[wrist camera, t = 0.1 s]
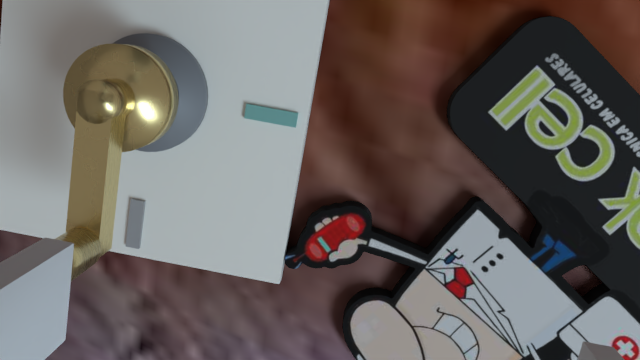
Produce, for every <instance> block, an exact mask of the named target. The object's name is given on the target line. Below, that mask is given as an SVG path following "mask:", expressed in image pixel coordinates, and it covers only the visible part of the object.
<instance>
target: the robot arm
mask: <svg viewBox="0 0 640 360" xmlns="http://www.w3.org/2000/svg"><path fill="white" fill-rule="evenodd" d="M73 250H74V243H72V242H66V241H61V240H56V239H51V238H46V237H45V238H44V239H42V240H40V241H38V242H36V243H35V244H33V245H31V246H29V247H28V248H26V249H24V250H22V251H20V252H19V253H17V254H15V255H13V256H11V257H10V258H8V259H6V260H4V261H2V262H1V263H0V360H45V359H46V358H47V357H48V356H49V355H50V354H51V353H52V352H53V351H54V350H55V349H56V348H57V347H58V346H60V345H61V344H62V343H63V342H64V341H65V338H66V327H67V316H68V305H69V294H70V283H71V272H72V261H73ZM578 360H624V358H623V357H622V356H621V355H620V354H619V353H618V352H617V350H616V349H615V348H614V347H610V346H605V345H600V344H595V343H590V342H584V341H583V343H582V346H581V350H580V353H579V357H578Z"/></svg>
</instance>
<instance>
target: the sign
mask: <svg viewBox="0 0 640 360" xmlns="http://www.w3.org/2000/svg"><path fill="white" fill-rule="evenodd" d="M447 118H448V123H449V125H450V127H451V129H452V130H453V131H454V133H455V134H456V135H457V136H458V137H459V138H460V139H461V140H462V141H463V142H464V143H465V144H466V145H467V146H468V147H469V148H470V149H471V150H472V151H473V152H474V153H475V154H476V155H477V156H478V157H479V158H480V159H481V160H482V161H483V162H484V163H485V164H486V165H487V166H488V167H489V168H490V169H491V170H492V171H493V172H494V173H495V174H496V175H497V176H498V177H499V178H500V179H501V180H502V181H503V182H504V183H505V184H506V185H507V186H508V187H509V188H510V190H511V191H512V192H513V193H514V194H515V195H516V196H517V197H519V198H520V199H521V200H522V201H523V203H524V204H525V206H526V207H527V208H528V210H529V211H530V212H531V213H532V215H533V216H534V218H535V219H536V221H537V223H536V225H535V227H534V229H533V231H532V233H531V236H530V241H529V242H526V241H525V240H524V239H523V238H522V237H521V236H520V235H519V234H518V233H517V232H516V231H515V230H514V229H513V228H511V227H509V225H508V224H507V223H506V222H505V221H504V220H503V219H502V218H501V217H500V216H499V215H498V214H497V213H496V212H495V211H494V210H493V209H492V208H491V207H490V206H489V205H487V204H486V203H485V202H484V201H483V200H482V199H481V198H479V197H473V198H471V199H470V200H469V201H468V202H467V204H466V205H465V206H464V207H463V208H462V209H461V210H460V211H459V212H458V213H457V214H456V215H455V216H454V217H453V218H452V219H451V220H450V221H449V222H448V224H447V225H446V226H445V227H444V228H443V229H442V230H441V231H440V233H439V234H438V235H437V236H436V237H435V238H434V240H433V241H432V242H431V244H430V245H429V246H428V247H427V248H423V247H421V246H419V245H416V244H414V243H412V242H410V241H407V240H405V239H402V238H400V237H398V236H396V235H393V234H391V233H388V232H386V231H384V230H382V229H379V228H375V227H373V226H372V219H371V213H370V211H369V209H368V208H367V207H366V206H365V205H363V204H362V203H360V202H356V201H346V202H343V203H334V204H332V205H330V206H322V207H321V208H319V209H318V210H317V211H315V212H313V213H312V214H311V215H310V217H309V218H308V221H307V224H306V227H305V228H304V229H303V231H302V233H301V235H300V237H299V240H298V243H297V245H296V246H293V247H291V248H290V249H288V251H287V253H286V256H285V259H284V261H285V264H286V265H287V266H288V267H289V268H292V269H296V268H298V267H299V266H300V265H301V264H302V263H304V264H305V265H307V266H309V267H312V268H322V267H327V268H335V267H337V266H339V265H347V264H351V263H354V262H355V261H357V260H358V259H359V258H360V256H361V255H362V253H363V252H364V251H365V252H368V253H370V254H374V255H377V256H381V257H384V258H387V259H390V260H393V261H396V262H399V263H402V264H405V265H408V266H410V268H409V269H408V270H407V272H406V273H405V274H404V275H403V276H402V278H401V279H400V280H399V282H398V283H397V284H396V286H395V287H394V288H393V290H392V291H388V290H387V289H382V288H369V289H365V290H362V291H360V292H358V293H357V294H355V295H354V296H353V297H352V298H351V299H350V301H349V302H348V303H347V306H346V308H345V311H344V317H343V333H344V337H345V341H346V343H347V345H348V347H349V349H350V351H351V352H352V354H353V355H354V357H355V359H356V360H578V357H579V353H580V350H581V346H582V343H583V341H584V342H590V343H595V344H600V345H605V346H610V347H614V348H615V349H616V350H617V352H618V353H619V354H620V355H621V356H622V357H623V358H624V360H640V95H639V94H638V93H637V92H636V91H635V90H634V89H633V88H632V87H631V86H630V84H629V83H628V82H627V81H626V80H625V79H624V78H623V77H622V76H621V75H620V74H619V73H618V72H617V71H616V70H615V69H614V68H613V67H612V65H611V64H610V63H609V62H608V61H607V60H606V59H605V58H604V57H603V56H602V55H601V54H600V53H599V52H598V51H597V50H596V49H595V48H594V47H593V45H592V44H591V43H590V42H589V41H588V40H587V39H586V38H585V37H584V36H583V35H582V34H581V33H580V32H579V31H578V29H577V28H576V27H575V26H573V25H572V24H571V23H570V22H568V21H566V20H564V19H562V18H559V17H552V16H548V17H541V18H536V19H533V20H530V21H528V22H526V23H524V24H523V25H522V26H520V27H519V28H518V29H517V30H516V31H515V32H514V33H513V34H512V35H511V36H510V37H509V38H508V39H507V40H506V41H505V42H504V43H503V44H501V45H500V46H499V47H498V48H497V49H496V50H495V51H494V52H493V53H492V54H491V55H490V56H489V57H488V58H487V59H486V60H485V61H484V62H483V63H482V64H481V65H480V66H479V67H478V68H477V69H476V70H475V71H474V72H473V73H472V74H471V75H470V76H469V77H468V78H467V79H466V80H465V81H464V82H462V83H461V84H460V85H459V86H458V87H457V89H456V90H455V91H454V92H453V94H452V95H451V97H450V100H449V102H448V106H447ZM580 265H586V266H587V267H588V268H589V269H590V270H591V271H592V272H593V273H594V274H595V275H596V276H597V277H598V278H599V279H600V280H601V281H602V282H603V283H602V284H600V285H598V286H596V287H595V288H593V289H592V290H591V291H589V292H588V293H587V294H586V295H584V296H580V295H579V294H578V293H577V292H576V291H575V290H574V288H573V287H572V286H571V285H570V284H569V283H568V282H567V281H566V280H565V279H564V278H563V277H562V275H563V274H565V273H566V272H568V271H570V270H571V269H573V268H575V267H578V266H580Z"/></svg>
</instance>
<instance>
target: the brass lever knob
mask: <svg viewBox="0 0 640 360" xmlns="http://www.w3.org/2000/svg"><path fill="white" fill-rule="evenodd" d="M63 100H64V106H65V110H66V113H67V116H68V118H69V120H70V122H71V124H72V125H73V127H74V128H75V134H74V145H73V156H72V167H71V178H70V189H69V200H68V211H67V223H66V233H64V234H62V235H60V236H59V237H57V238H55V239H56V240H61V241H66V242H72V243H74V250H73V261H72V272H71V281H72V280H74V279H75V278H76V277H78V276H79V275H80V274H82V273H83V272H84V271H86V270H87V269H88V268H90V267H91V266H92V265H94V264H95V263H96V262H97V261H98V259H99V258H100V256H102V255H103V254H105V253H106V252H107V251H109V250H110V249H111V248H112V239H113V230H114V220H115V211H116V202H117V192H118V183H119V174H120V164H121V155H122V152H128V151H132V150H136V149H139V148H141V147H144V146H146V145H149V144H151V143H153V142H155V141H157V140H158V139H160V138H161V137H162V136H163V135H164V134H165V133H166V132H167V131H168V130H169V128H170V127H171V125H172V124H173V122H174V120H175V117H176V114H177V110H178V102H179V97H178V89H177V85H176V82H175V79H174V77H173V75H172V73H171V71H170V69H169V68H168V66H167V65H166V64H165V63H164V62H163V61H162V60H161V59H160V58H159V57H158V56H157V55H155V54H154V53H153V52H151V51H149V50H147V49H145V48H142V47H139V46H135V45H128V44H103V45H98V46H95V47H93V48H90V49H88V50H87V51H85V52H84V53H82V54H81V55H80V56H79V57H78V58H77V59H76V60H75V61H74V62H73V64H72V65H71V67H70V68H69V70H68V73H67V75H66V78H65V81H64V87H63Z"/></svg>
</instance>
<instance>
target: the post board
mask: <svg viewBox="0 0 640 360" xmlns="http://www.w3.org/2000/svg"><path fill="white" fill-rule="evenodd" d="M329 1H330V0H3V1H2V17H1V34H0V230H5V231H10V232H15V233H20V234H25V235H30V236H36V237H41V238H45V237H46V238H51V239H55V238H57V237H59V236H60V235H62V234H64V233H66V223H67V211H68V200H69V189H70V178H71V167H72V156H73V145H74V134H75V128H74V127H73V125H72V124H71V122H70V120H69V118H68V116H67V113H66V110H65V106H64V100H63V87H64V81H65V78H66V75H67V73H68V70H69V68H70V67H71V65H72V64H73V62H74V61H75V60H76V59H77V58H78V57H79V56H80V55H81V54H82V53H84V52H85V51H87V50H88V49H90V48H93V47H95V46H98V45H103V44H128V45H135V46H139V47H142V48H145V49H147V50H149V51H151V52H153V53H154V54H155V55H157V56H158V57H159V58H160V59H161V60H162V61H163V62H164V63H165V64H166V65H167V66H168V68H169V69H170V71H171V73H172V75H173V77H174V79H175V82H176V85H177V89H178V97H179V102H178V110H177V114H176V117H175V120H174V122H173V124H172V125H171V127H170V128H169V130H168V131H167V132H166V133H165V134H164V135H163V136H162V137H161V138H160V139H158V140H157V141H155V142H153V143H151V144H149V145H146V146H144V147H141V148H139V149H136V150H132V151H128V152H122V155H121V164H120V174H119V183H118V192H117V202H116V211H115V220H114V230H113V239H112V248H111V249H110V250H109V251H112V252H117V253H123V254H128V255H133V256H138V257H143V258H148V259H153V260H158V261H163V262H169V263H174V264H179V265H184V266H189V267H194V268H199V269H204V270H209V271H215V272H220V273H225V274H230V275H235V276H240V277H245V278H250V279H256V280H261V281H266V282H271V283H276V284H280V281H281V279H282V274H283V268H284V262H285V261H284V259H285V256H286V250H287V245H288V239H289V233H290V227H291V221H292V216H293V210H294V204H295V198H296V192H297V186H298V181H299V175H300V169H301V163H302V157H303V152H304V146H305V140H306V134H307V128H308V123H309V117H310V111H311V105H312V99H313V94H314V88H315V82H316V76H317V70H318V65H319V59H320V53H321V47H322V41H323V36H324V30H325V24H326V18H327V12H328V7H329Z"/></svg>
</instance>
